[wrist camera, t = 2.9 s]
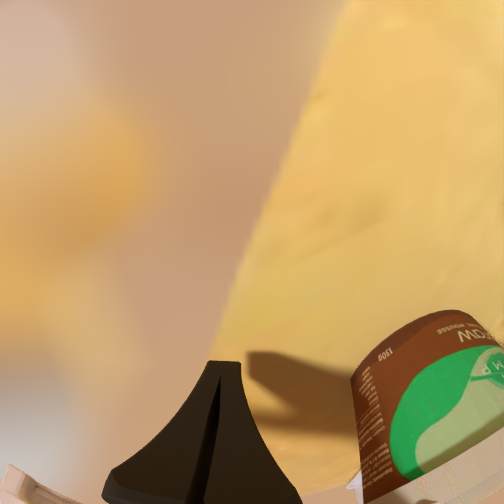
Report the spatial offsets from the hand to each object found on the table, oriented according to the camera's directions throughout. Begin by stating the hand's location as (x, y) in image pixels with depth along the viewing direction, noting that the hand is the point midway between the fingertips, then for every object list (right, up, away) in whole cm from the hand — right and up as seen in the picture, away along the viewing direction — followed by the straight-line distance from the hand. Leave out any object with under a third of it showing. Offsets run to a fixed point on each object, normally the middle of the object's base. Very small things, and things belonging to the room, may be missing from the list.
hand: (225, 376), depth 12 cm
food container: (+12, +1, +2) cm, 12 cm away
